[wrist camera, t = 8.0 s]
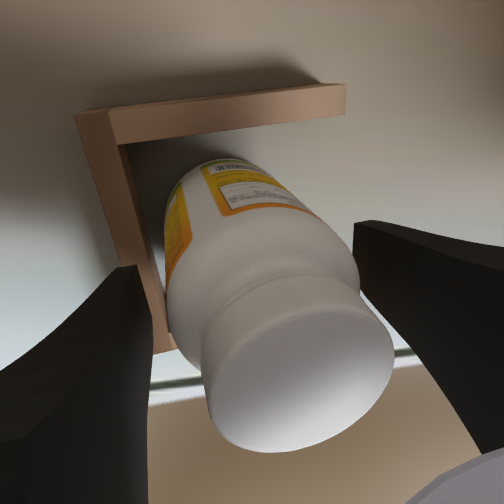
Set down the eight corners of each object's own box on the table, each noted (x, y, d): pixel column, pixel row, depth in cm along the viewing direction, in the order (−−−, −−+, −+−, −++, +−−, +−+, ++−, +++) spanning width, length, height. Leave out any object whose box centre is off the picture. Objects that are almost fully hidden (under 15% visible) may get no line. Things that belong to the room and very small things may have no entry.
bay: (322, 83, 14) (346, 83, 12) (320, 289, 18) (337, 311, 17) (86, 110, 12) (73, 115, 10) (151, 326, 17) (150, 355, 15)
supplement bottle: (211, 289, 17) (263, 504, 8) (136, 206, 14) (99, 399, 6) (302, 227, 16) (454, 385, 8) (243, 129, 14) (376, 211, 5)
